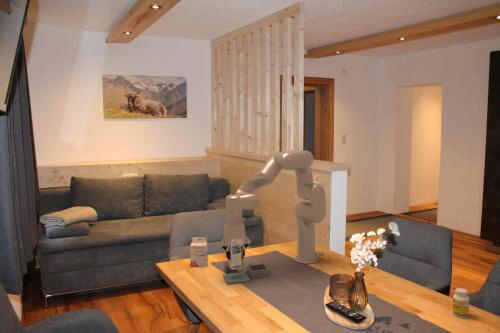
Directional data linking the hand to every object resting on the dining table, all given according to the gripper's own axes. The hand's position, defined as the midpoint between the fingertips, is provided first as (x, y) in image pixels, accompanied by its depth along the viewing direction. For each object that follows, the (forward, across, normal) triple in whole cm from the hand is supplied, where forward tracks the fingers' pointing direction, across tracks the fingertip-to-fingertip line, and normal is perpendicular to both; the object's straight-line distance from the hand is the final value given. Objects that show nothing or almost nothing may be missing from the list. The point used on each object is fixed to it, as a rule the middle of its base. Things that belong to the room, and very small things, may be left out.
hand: (235, 257), depth 204 cm
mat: (+10, 0, 0) cm, 10 cm away
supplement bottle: (+10, -74, +62) cm, 97 cm away
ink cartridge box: (+11, +14, -25) cm, 31 cm away
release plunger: (+10, 0, -11) cm, 15 cm away
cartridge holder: (+10, -12, -3) cm, 16 cm away
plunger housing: (+10, 0, -11) cm, 15 cm away
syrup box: (+5, 0, 0) cm, 5 cm away
